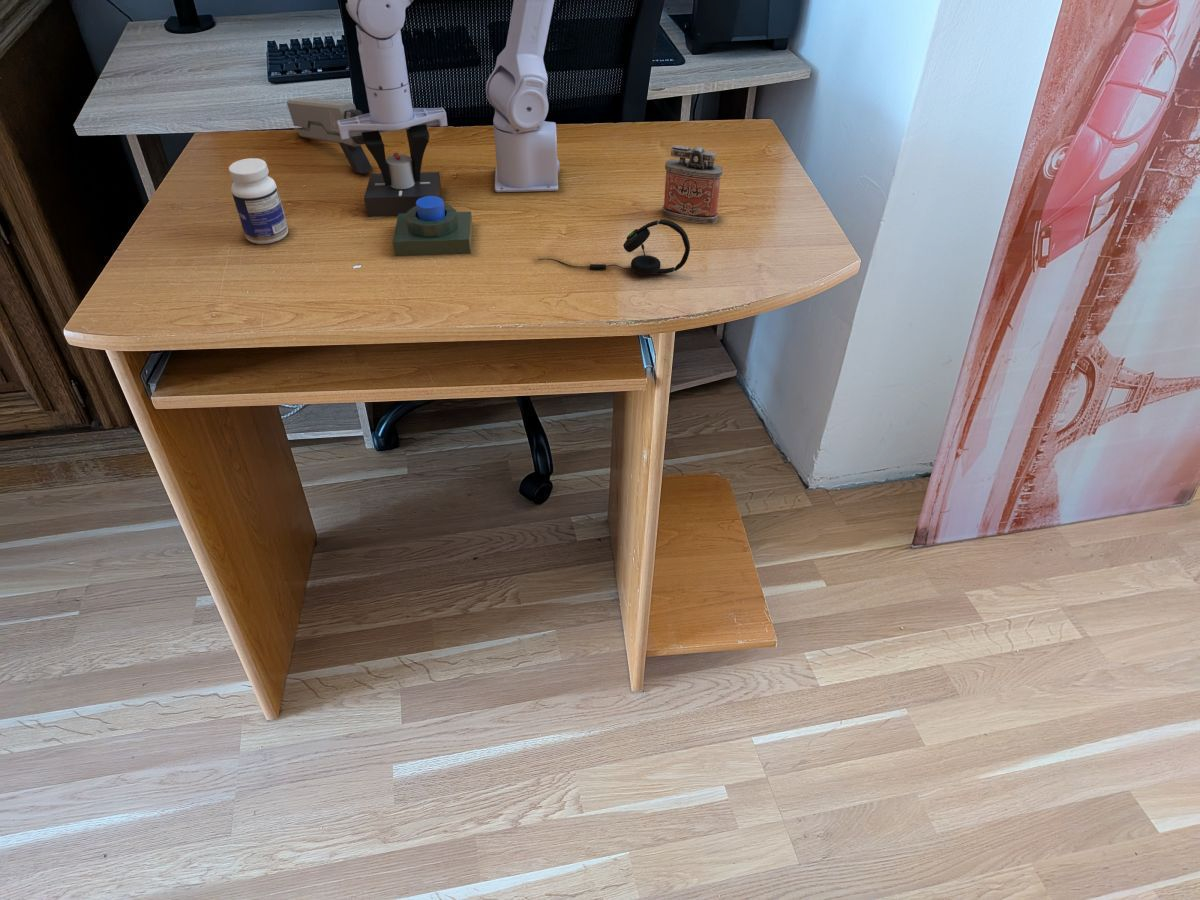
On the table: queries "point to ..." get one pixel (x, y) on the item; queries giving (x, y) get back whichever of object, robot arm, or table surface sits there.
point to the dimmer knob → (400, 171)
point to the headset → (644, 262)
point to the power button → (430, 208)
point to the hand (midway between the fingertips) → (402, 180)
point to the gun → (329, 127)
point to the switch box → (433, 234)
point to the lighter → (692, 185)
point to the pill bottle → (257, 201)
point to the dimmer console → (398, 194)
